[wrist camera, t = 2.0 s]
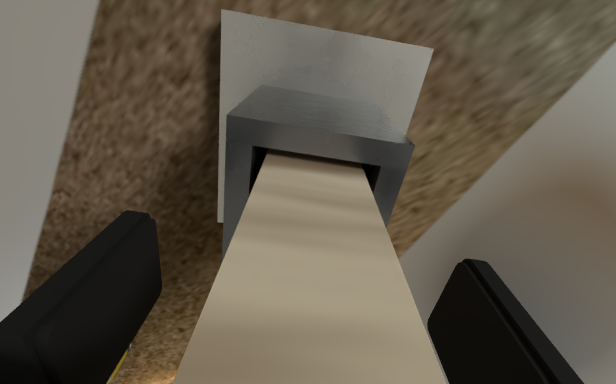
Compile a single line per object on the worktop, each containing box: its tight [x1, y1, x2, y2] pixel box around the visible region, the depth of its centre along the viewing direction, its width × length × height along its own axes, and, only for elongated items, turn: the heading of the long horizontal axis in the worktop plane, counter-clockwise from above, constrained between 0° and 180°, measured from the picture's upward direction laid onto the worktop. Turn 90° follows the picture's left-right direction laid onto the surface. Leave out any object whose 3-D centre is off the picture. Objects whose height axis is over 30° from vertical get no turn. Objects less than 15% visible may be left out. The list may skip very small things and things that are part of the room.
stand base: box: [217, 9, 434, 262], centre depth 17 cm, size 14×12×10 cm
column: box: [172, 148, 446, 384], centre depth 12 cm, size 4×4×16 cm
